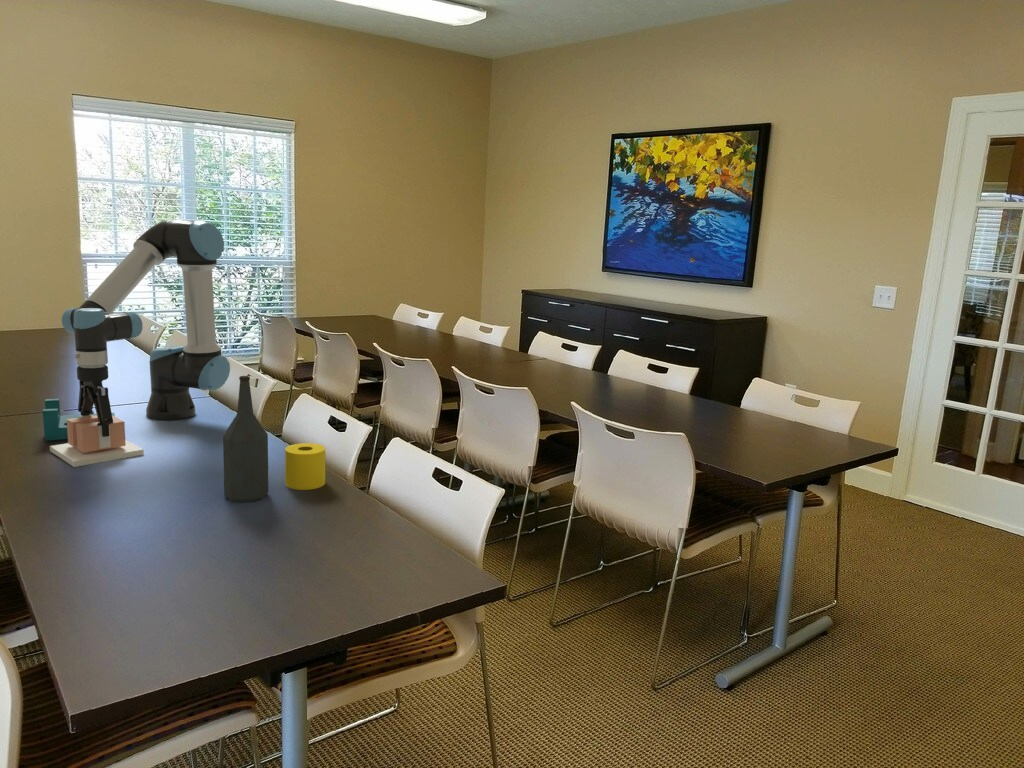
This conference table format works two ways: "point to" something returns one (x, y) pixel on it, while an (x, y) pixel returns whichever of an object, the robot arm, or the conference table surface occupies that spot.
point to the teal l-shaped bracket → (56, 420)
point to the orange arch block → (93, 433)
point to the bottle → (245, 452)
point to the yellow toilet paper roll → (304, 466)
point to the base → (94, 453)
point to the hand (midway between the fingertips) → (96, 442)
